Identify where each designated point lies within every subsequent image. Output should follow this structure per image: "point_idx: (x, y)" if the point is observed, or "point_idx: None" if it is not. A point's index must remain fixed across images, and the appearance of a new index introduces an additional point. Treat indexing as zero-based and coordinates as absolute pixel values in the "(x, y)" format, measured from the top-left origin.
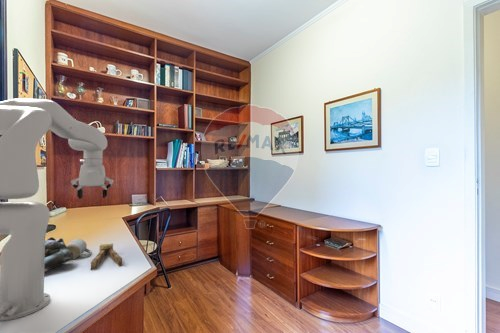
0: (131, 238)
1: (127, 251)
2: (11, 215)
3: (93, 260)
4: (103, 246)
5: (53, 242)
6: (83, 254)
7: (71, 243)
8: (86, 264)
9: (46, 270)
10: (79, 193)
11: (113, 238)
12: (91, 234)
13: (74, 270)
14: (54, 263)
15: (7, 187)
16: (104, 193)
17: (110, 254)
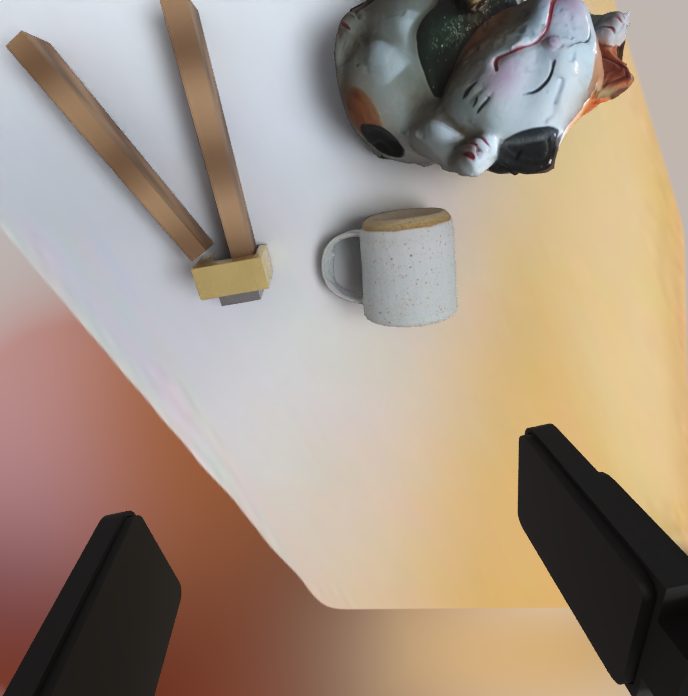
0: (239, 499)
1: (150, 310)
2: None
3: (188, 32)
4: (239, 259)
5: (490, 72)
6: (343, 234)
7: (421, 243)
8: (275, 123)
9: None
10: (607, 502)
11: (331, 503)
12: (458, 554)
13: (294, 27)
14: None
15: None
16: (66, 615)
17: (188, 220)
